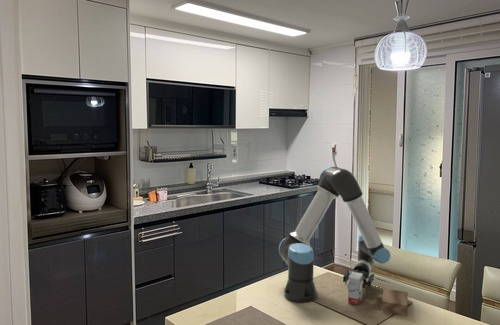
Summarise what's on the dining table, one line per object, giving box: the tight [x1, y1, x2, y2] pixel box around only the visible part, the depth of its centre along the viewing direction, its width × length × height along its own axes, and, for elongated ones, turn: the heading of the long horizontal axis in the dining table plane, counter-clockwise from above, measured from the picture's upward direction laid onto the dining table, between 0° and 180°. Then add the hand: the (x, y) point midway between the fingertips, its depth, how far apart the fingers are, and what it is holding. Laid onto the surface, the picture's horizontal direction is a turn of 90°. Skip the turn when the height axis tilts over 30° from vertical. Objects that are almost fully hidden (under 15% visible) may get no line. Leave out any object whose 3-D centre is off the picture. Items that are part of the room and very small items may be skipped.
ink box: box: [347, 272, 363, 306], centre depth 175 cm, size 9×5×12 cm, turn 152°
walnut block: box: [381, 288, 409, 317], centre depth 169 cm, size 10×14×5 cm
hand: (353, 287), depth 170 cm, fingers open, 5 cm apart
